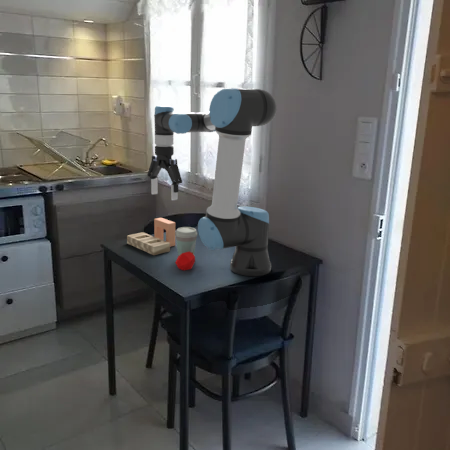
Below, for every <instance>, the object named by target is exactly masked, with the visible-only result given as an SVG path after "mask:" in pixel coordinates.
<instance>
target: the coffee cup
mask: <svg viewBox="0 0 450 450" xmlns="http://www.w3.org/2000/svg"><path fill="white" fill-rule="evenodd" d="M198 236H199V233H198V230H197V229H196V228H194V227H191V226H182V227H178V228H177V229H175V242H176V249H177V257H178V256H179V255H181V254H182V253H185V252H191V253H192V252H193V255H194V256H195V250H196V243H197V237H198Z"/></svg>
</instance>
